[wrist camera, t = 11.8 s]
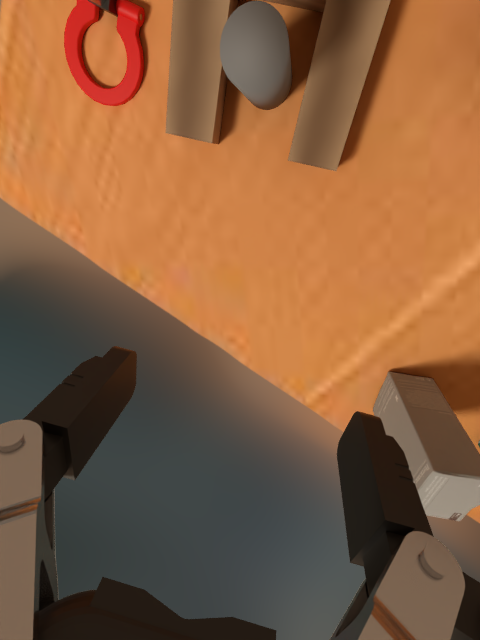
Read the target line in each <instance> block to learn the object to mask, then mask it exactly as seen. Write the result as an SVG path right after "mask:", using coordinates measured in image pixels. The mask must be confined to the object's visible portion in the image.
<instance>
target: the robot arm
mask: <svg viewBox="0 0 480 640" xmlns="http://www.w3.org/2000/svg"><path fill="white" fill-rule="evenodd" d="M136 361H137V355H136V352H135V351H132V350H128V349H124V348H120V347H117V346H114V347H112V348H111V349H110V350H109V351H108V352H107V354H105V355H104V356H103V358H101V357H98V356H95V357H93V358H91V359H89V360H87V361H85V362H83V363H81V364H80V365H79V366H78V367H77V368H76V369H75V370H74V371H73V372H72V373H71V375H70V376H68V377H67V378H65V379H64V380H63V381H62V384H59V385H58V386H57V387H56V388H55V389H54V390H53V391H52V392H51V393H50V394H49V395H48V396H47V397H46V398H45V399H44V400H43V401H42V402H41V403H40V404H39V405H37V407H35V408H34V410H32V411H31V412H30V413H29V414H28V415H27V416H26V417H25V418H24V419H23V420H14V421H9V422H6V423H3V424H1V425H0V640H276V630H273V629H269V628H266V627H263V626H259V625H256V624H253V623H250V622H247V621H244V620H240V619H237V618H233V617H225V618H206V619H184V618H181V617H180V616H178V615H177V614H176V613H174V612H173V611H172V610H170V609H169V608H168V607H167V606H165V605H164V604H163V603H161V602H160V601H159V600H157V599H156V598H154V597H153V596H152V595H150V594H149V593H148V592H147V591H145V590H143V589H140V588H137V587H133V586H130V585H127V584H124V583H121V582H117V581H114V580H111V579H108V578H104V577H102V580H101V582H100V584H99V586H98V588H97V590H88V591H83V592H79V593H76V594H73V595H70V596H67V597H64V598H63V599H60V600H58V581H57V569H56V558H55V499H54V488H55V486H56V485H57V484H58V482H59V481H60V480H61V478H62V477H65V478H69V479H72V480H75V479H76V478H77V476H78V475H79V474H80V472H81V471H82V469H83V468H84V466H85V465H86V463H87V462H88V460H89V459H90V457H91V456H92V455H93V453H94V452H95V450H96V449H97V447H98V446H99V444H100V443H101V441H102V440H103V439H104V437H105V436H106V434H107V433H108V431H109V430H110V428H111V427H112V425H113V424H114V422H115V421H116V419H117V418H118V417H119V415H120V413H121V412H122V411H123V409H124V408H125V406H126V405H127V403H128V402H129V401H130V399H131V397H132V395H133V393H134V390H135V386H136V363H137V362H136ZM337 460H338V468H339V476H340V484H341V492H342V500H343V508H344V516H345V523H346V533H347V540H348V548H349V557H350V563H353V564H357V565H360V566H364V569H365V575H366V579H365V580H364V581H363V583H362V584H361V586H360V588H359V589H358V591H357V593H356V595H355V596H354V598H353V600H352V602H351V604H350V605H349V607H348V609H347V610H346V612H345V614H344V615H343V617H342V619H341V621H340V622H339V624H338V626H337V628H336V630H335V631H334V633H333V634H332V637H331V638H330V639H329V640H480V583H479V582H478V581H476V580H475V579H473V578H471V577H469V576H468V575H466V574H465V573H464V572H462V570H461V568H460V566H459V564H458V562H457V561H456V559H455V558H454V556H453V555H452V554H451V552H450V551H449V550H448V549H447V548H446V547H445V546H444V545H443V544H442V543H441V542H440V541H438V540H437V539H436V538H434V536H433V534H432V531H431V528H430V525H429V523H428V520H427V517H426V514H425V511H424V508H423V505H422V502H421V499H420V497H419V494H418V491H417V488H416V485H415V483H413V480H414V479H413V477H412V474H411V471H410V470H409V465H408V462H407V459H406V456H405V454H404V451H403V450H402V448H401V447H400V446H399V444H398V443H397V442H396V440H395V439H394V437H392V436H389V435H386V433H385V430H384V426H383V423H382V420H381V418H380V417H377V416H373V415H370V414H366V413H362V412H358V411H357V412H355V413H354V415H353V416H352V418H351V420H350V422H349V424H348V425H347V427H346V429H345V431H344V433H343V435H342V437H341V438H340V441H339V444H338V449H337Z"/></svg>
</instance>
